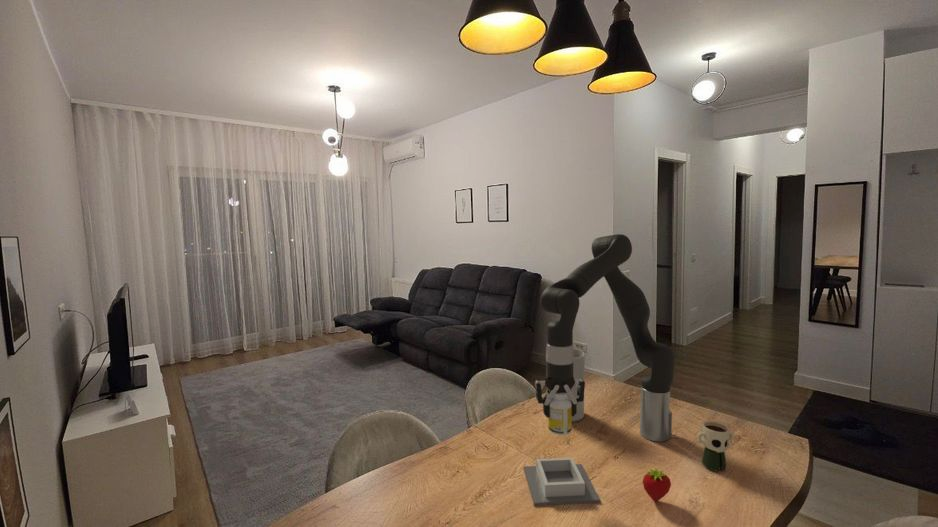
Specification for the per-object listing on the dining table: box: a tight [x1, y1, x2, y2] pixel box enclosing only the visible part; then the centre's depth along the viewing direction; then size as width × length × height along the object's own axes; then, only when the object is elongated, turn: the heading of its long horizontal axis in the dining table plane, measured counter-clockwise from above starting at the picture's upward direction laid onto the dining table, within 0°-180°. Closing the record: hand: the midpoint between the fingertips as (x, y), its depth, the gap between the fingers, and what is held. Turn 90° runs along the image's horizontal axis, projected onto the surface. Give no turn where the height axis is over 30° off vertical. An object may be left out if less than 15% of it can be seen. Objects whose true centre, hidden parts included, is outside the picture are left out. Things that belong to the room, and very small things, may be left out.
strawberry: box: [642, 467, 672, 502], centre depth 108 cm, size 6×8×10 cm
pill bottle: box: [547, 393, 573, 436], centre depth 114 cm, size 6×6×12 cm
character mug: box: [697, 420, 734, 472], centre depth 122 cm, size 11×7×13 cm, turn 94°
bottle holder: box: [523, 457, 601, 506], centre depth 116 cm, size 18×16×4 cm
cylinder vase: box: [568, 347, 586, 423], centre depth 156 cm, size 12×12×25 cm
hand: (559, 415), depth 114 cm, fingers closed on pill bottle, 6 cm apart
